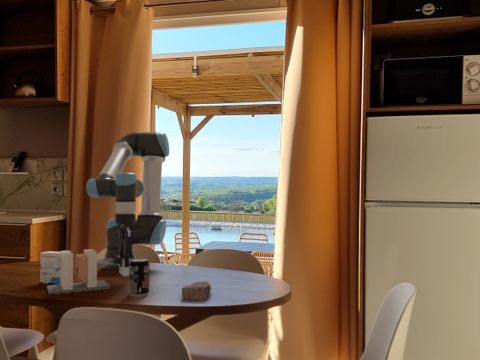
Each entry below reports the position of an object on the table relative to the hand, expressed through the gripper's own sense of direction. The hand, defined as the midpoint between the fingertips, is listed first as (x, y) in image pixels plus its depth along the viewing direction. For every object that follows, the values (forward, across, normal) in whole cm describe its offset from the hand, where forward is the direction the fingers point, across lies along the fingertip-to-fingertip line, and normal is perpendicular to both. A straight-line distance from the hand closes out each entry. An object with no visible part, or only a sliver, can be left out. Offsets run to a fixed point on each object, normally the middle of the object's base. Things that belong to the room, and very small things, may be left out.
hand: (124, 274), depth 160 cm
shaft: (-3, 0, -8) cm, 8 cm away
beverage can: (+4, +19, +1) cm, 19 cm away
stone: (+4, +29, +17) cm, 34 cm away
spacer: (0, 0, -16) cm, 16 cm away
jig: (+4, 0, -16) cm, 17 cm away
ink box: (+4, -16, -24) cm, 29 cm away
